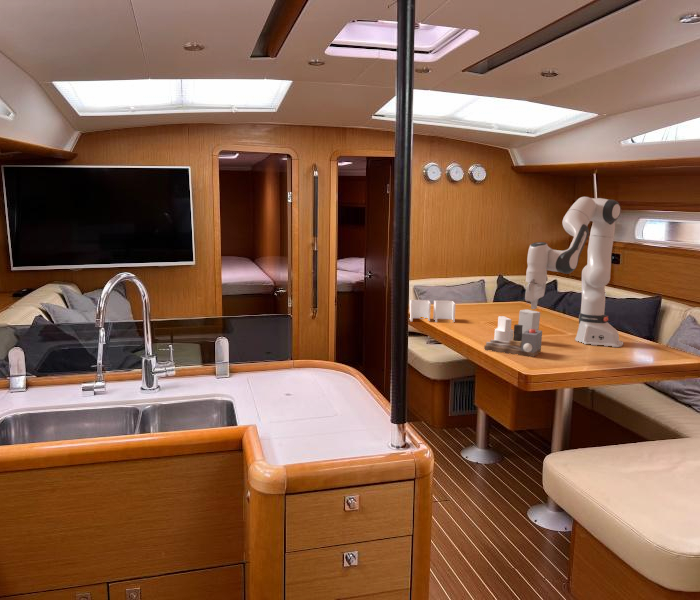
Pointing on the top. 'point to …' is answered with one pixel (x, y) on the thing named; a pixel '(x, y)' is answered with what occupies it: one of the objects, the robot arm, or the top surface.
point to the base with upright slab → (503, 329)
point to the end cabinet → (531, 341)
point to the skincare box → (529, 320)
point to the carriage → (517, 336)
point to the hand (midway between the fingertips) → (533, 308)
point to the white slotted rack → (440, 309)
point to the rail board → (507, 348)
